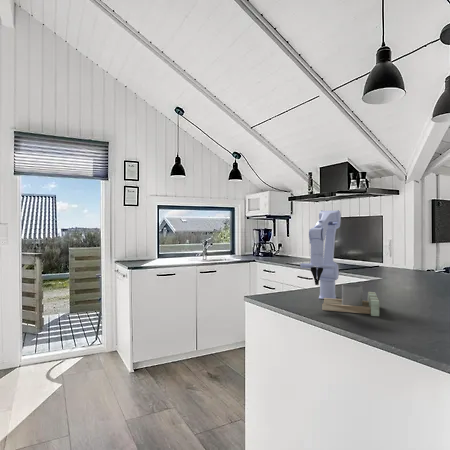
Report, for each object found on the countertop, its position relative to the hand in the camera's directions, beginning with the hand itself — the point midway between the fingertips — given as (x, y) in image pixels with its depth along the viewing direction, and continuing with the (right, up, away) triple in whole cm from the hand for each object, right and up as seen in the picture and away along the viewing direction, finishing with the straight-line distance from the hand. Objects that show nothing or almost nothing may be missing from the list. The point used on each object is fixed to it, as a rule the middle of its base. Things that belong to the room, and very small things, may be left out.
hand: (316, 284), depth 158 cm
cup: (+14, -10, -6) cm, 18 cm away
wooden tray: (+12, -9, -5) cm, 16 cm away
